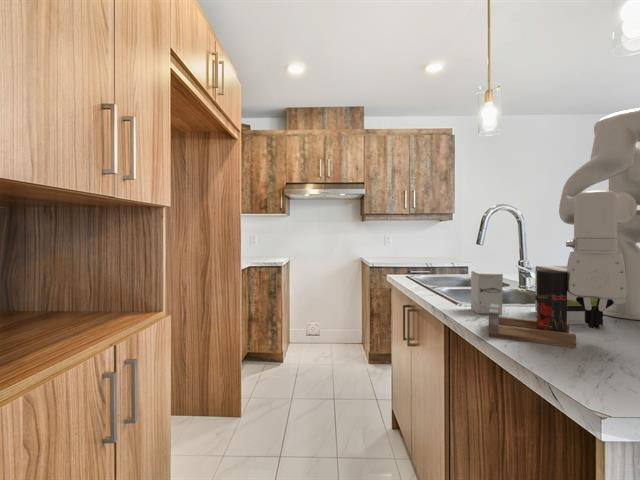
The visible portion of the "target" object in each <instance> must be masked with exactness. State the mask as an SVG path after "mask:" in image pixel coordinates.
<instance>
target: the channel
mask: <svg viewBox="0 0 640 480" xmlns="http://www.w3.org/2000/svg"><path fill="white" fill-rule="evenodd" d="M536 322H537V319H528V318H520V317H519V318H516V317H508V316H502V315H501V316H500V314H499V304H492V303H491V305H490V309H489V314H488V337H490V338H497V339H498V338H499V339H504V340H505V339H507V340H512V341H521V342H527V343H528V342H529V343H535V344H544V345H550V346H557V347H564V348H565V347H566V348H571V349H572V348H573V349H577V335H576V333H572V332H571V333H570V324H567V333H564V332H555V331H547V330H538V329H536Z"/></svg>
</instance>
